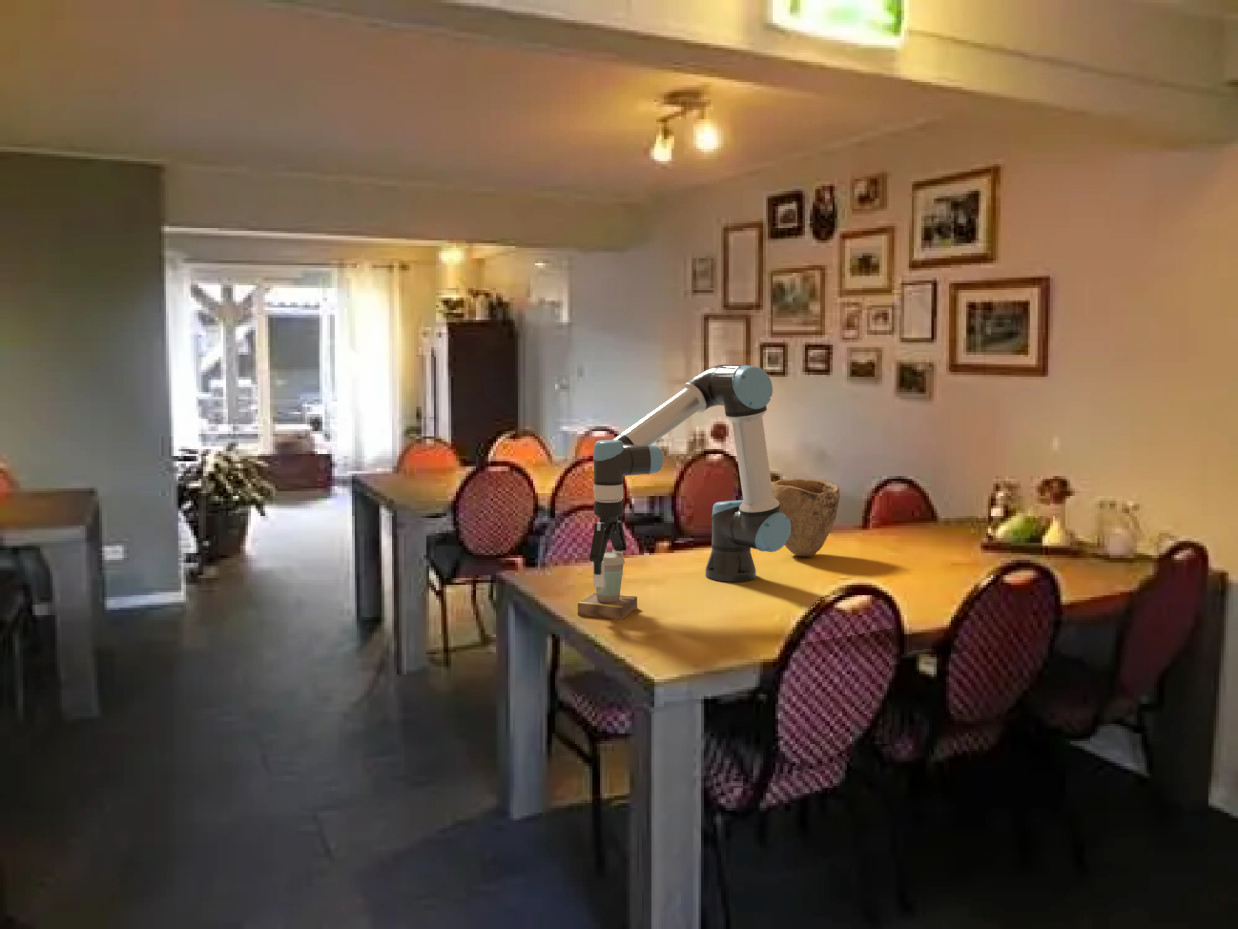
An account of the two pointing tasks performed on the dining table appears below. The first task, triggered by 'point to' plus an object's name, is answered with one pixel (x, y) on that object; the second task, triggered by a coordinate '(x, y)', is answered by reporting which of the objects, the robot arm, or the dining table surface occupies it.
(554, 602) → the dining table surface
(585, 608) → the block
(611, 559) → the coffee cup
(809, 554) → the ancient clay pot
